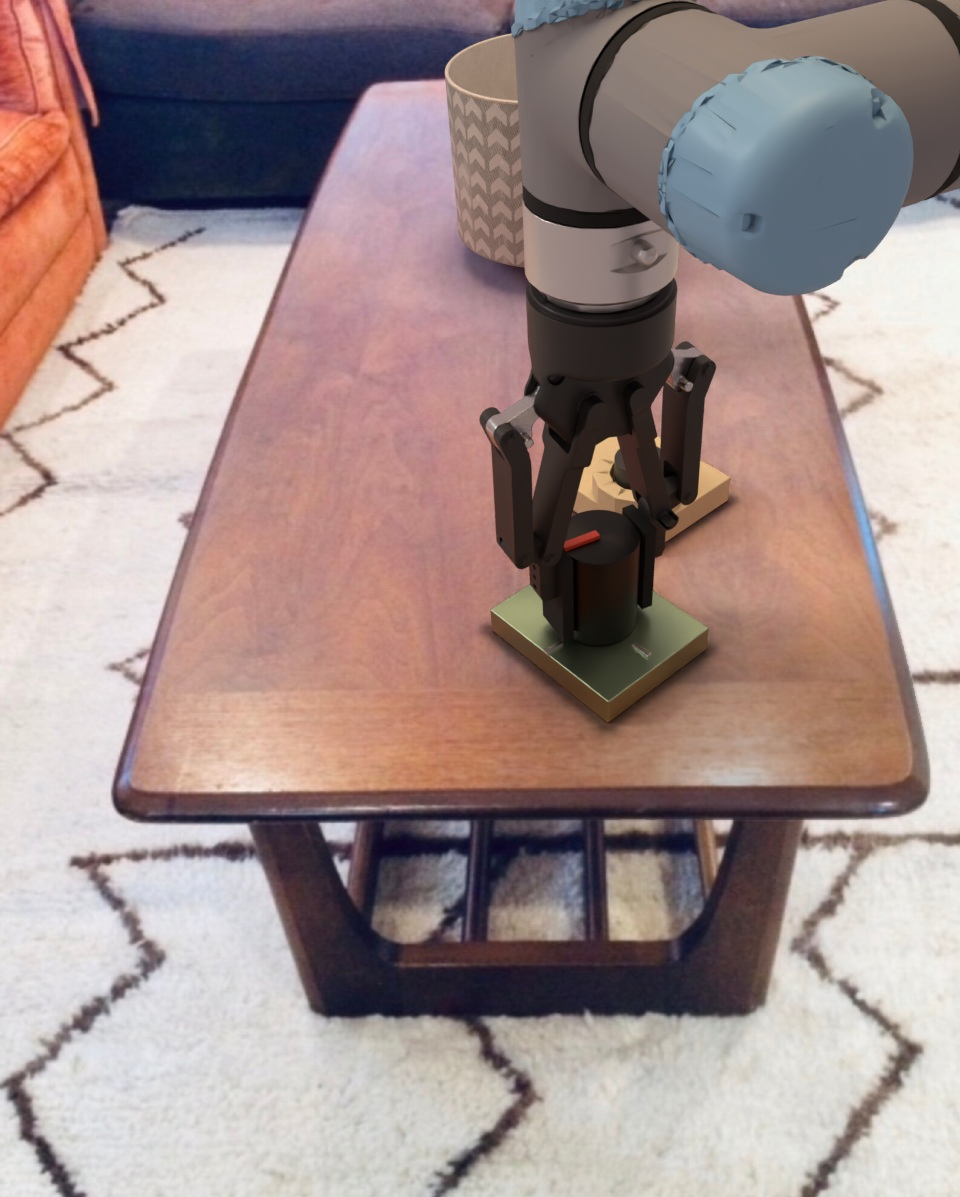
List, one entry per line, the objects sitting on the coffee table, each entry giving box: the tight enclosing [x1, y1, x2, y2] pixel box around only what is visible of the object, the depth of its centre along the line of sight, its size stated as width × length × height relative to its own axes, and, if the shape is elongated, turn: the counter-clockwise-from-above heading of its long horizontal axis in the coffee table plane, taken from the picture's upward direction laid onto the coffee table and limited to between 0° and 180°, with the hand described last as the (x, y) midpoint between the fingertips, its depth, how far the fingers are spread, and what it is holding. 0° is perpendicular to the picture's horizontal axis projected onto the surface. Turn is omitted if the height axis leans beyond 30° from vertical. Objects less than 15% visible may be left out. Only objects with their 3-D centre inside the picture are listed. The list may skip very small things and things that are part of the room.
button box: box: [573, 435, 731, 543], centre depth 81 cm, size 10×9×4 cm
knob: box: [563, 510, 640, 646], centre depth 68 cm, size 5×5×7 cm
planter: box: [444, 33, 525, 269], centre depth 105 cm, size 19×19×18 cm
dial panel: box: [490, 583, 710, 723], centre depth 72 cm, size 11×9×2 cm
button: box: [614, 446, 660, 490], centre depth 78 cm, size 4×4×2 cm
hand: (597, 609), depth 70 cm, fingers closed on knob, 5 cm apart
